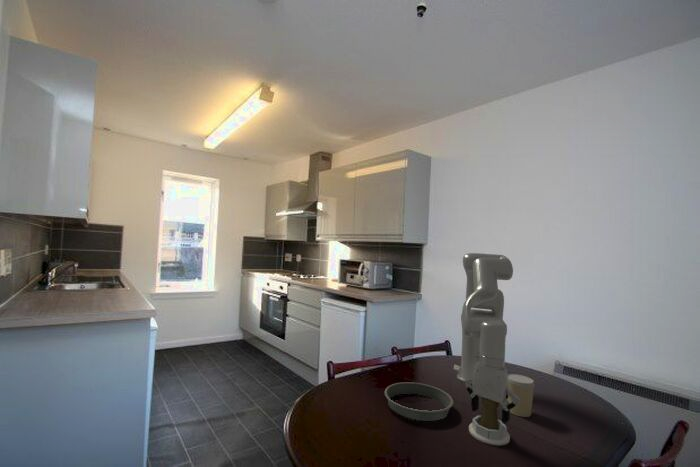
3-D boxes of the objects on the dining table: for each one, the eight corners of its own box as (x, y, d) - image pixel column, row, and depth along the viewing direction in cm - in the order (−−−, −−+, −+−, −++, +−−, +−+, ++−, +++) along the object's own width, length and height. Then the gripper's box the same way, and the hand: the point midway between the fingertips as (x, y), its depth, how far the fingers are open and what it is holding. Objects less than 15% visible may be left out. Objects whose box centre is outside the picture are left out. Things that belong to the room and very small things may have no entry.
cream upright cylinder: (530, 408, 126) (531, 376, 126) (535, 420, 117) (536, 385, 118) (503, 403, 129) (504, 372, 129) (506, 414, 120) (507, 380, 121)
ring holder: (461, 432, 106) (462, 421, 106) (479, 420, 114) (479, 410, 114) (500, 450, 97) (500, 438, 98) (516, 436, 106) (516, 425, 106)
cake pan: (464, 409, 123) (465, 397, 123) (430, 433, 105) (431, 419, 105) (407, 387, 139) (408, 376, 140) (370, 405, 121) (371, 392, 122)
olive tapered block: (501, 437, 102) (502, 401, 103) (480, 434, 104) (482, 398, 104) (496, 427, 108) (498, 393, 109) (477, 424, 110) (478, 390, 110)
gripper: (460, 355, 111) (458, 408, 110) (515, 371, 98) (513, 431, 97) (471, 351, 116) (469, 402, 115) (524, 366, 103) (522, 423, 102)
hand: (489, 415), depth 106 cm, fingers open, 9 cm apart
